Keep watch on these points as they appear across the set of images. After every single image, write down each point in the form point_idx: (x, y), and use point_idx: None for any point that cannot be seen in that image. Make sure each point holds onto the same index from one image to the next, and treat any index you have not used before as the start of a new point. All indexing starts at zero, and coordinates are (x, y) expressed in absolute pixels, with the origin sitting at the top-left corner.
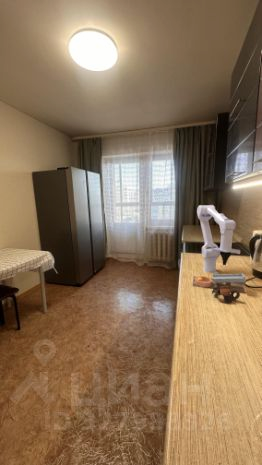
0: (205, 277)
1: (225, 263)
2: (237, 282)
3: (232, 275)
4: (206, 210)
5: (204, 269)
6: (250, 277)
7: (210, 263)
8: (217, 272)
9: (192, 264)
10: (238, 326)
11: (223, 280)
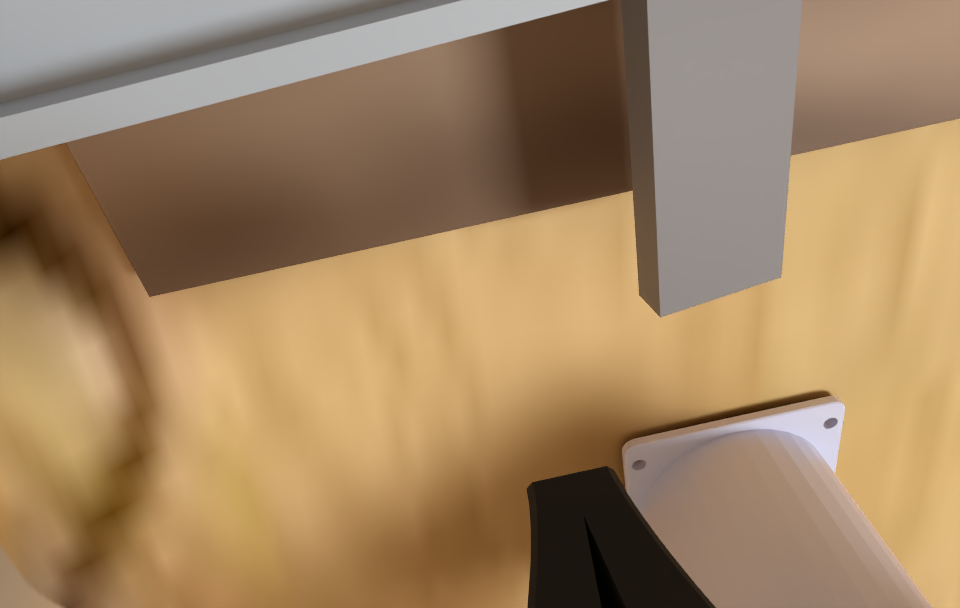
0: None
1: (556, 530)
2: (210, 244)
3: (220, 53)
4: None
5: (831, 470)
6: (120, 578)
7: (824, 585)
8: (672, 264)
9: (953, 579)
10: None
11: None
